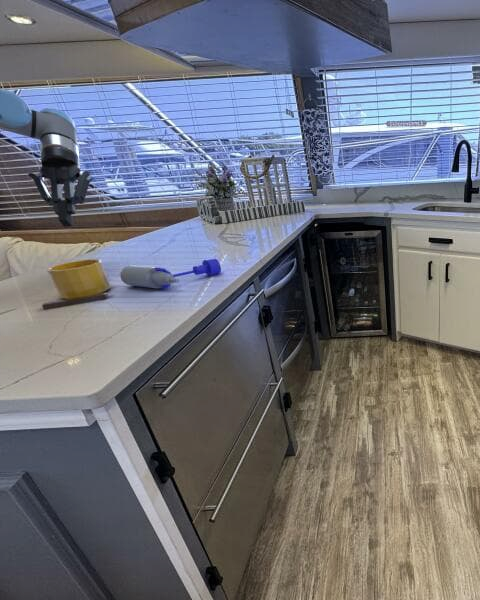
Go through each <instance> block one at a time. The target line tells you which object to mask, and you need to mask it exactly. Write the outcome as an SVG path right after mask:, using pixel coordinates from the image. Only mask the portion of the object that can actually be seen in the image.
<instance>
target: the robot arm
mask: <svg viewBox="0 0 480 600" xmlns="http://www.w3.org/2000/svg"><path fill="white" fill-rule="evenodd" d="M0 130H2V131H5V132H10V133H13V134H18V135H21V136H23V137H29V138H30V139H35V140H39V142H40V143H39V145H40V150H39V151H40V163H41V167H40V168H39V172H37V173H33V172H29V173H28V174H27V176H28V178H30V179H31V180H32V181H33V183H35V186H36V188H37V190H38V192H39V195H40V196H41V198H42V200H43V201H44V202H45V203H46V204H47V205H48V206H49V207H52V209H53V210H52V211H53V212H54V213H55V214H56V216H58V222H59V223H60V224H61V225H62V226H63V227H64V228H69V227H73V219H72V218H73V217H72V215H75V214H76V213H77V212H76V205H77V204H79V205H80V204H81V205H82V204H84V203H85V199H86V196H87V193H88V190H89V186H90V184H91V183H92V181H93V180H94V177H93V176H92V174H91V173H90V172H89V170H84V171H83V170H81V166H80V157H79V155H80V154H79V147H78V131H77V128H76V124H75V121H74V119H73V117H71V116H70V115H69V114H67V113H65V111H62V110H60V109H56V108H48V107H47V108H43V109H40V110H39V111H38V110H34V109H31V108H30V106H29V104H28V103H27V102H26V100H25V99H24V98H22V96H20V95H18V93H17V94H16V93H15V92H13V91H10V90H7V89H3V88H0ZM44 178H45V179H47V180H48V181H49V182H50V192H49V190H48V188H47V186H46V185H45V179H44ZM76 181H77V184H75V182H76ZM63 192H64V193H63ZM50 193H51V194H50ZM63 194H64V196H63Z"/></svg>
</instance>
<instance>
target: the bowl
mask: <svg viewBox="0 0 480 600" xmlns="http://www.w3.org/2000/svg"><path fill="white" fill-rule="evenodd" d="M46 272H47V273H48V276H49V278H50V280H51V282H52V284H53V286H54V288H55V290H56V291H57V294H58V296H59V297H60V298H61V299H71V298H77V297H83V296H89V295H95V294H101V293H106V292H107V291H108V290H110V289H111V288H112V284H111V281H110V278H109V277H108V275H107V272H106V269H105V267H104V265H103V263H102V260H101V259H98V258H97V259H94V258H93V259H91V258H89V259H81V260H76V261H69V262H64V263H60V264H55V265H53V266H50V267H48V268H47V269H46Z"/></svg>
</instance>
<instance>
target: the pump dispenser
mask: <svg viewBox="0 0 480 600" xmlns="http://www.w3.org/2000/svg"><path fill="white" fill-rule="evenodd" d="M201 262H202V263H201V264H199V265H193V266H192V270H187V271H184V272H178V273H174V274H172V272H171V271H169V270H168V269H166V268H164V267H159V266H148V265H147V266H146V265H133V264H131V265H127V266H125V267H123V268H122V269H121V271H120V274H119V275H120V279H121V281H122V282H123V284H126V285H127V286H131V287H132V286H133V287H140V288H141V287H142V288H151V289H161V290H165V289H167V288H169V287H170V286H171V285H172V284H173V285H174V283H176V284H177V283H178V284H179V283H180V281H181V280H180V279H179V278H178V277H182V276H186V275H191V274H194V275H195V276H199V275H203V274H206V275H207V276H209V277H210V276H214V275H218V274H221V272H222V271H221V270H222V266H221V263H220V261H219V260H218V259H217V258H215V257H214V258H213V257H212V258H209V259H204V260H202V261H201Z"/></svg>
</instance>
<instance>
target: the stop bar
mask: <svg viewBox="0 0 480 600" xmlns="http://www.w3.org/2000/svg"><path fill="white" fill-rule="evenodd" d="M108 298H109V294H108V292H103V293H101V294H95V295H89V296H83V297H77V298H71V299H67V298H64V299H60V300H54V301H53V300H52V301H48V302H44V303H42V304H41V306H42V309H43V310H50V309H55V308H60V307H61V308H62V307H66V306H73V305H79V304H83V303H91V302H95V301H101V300H106V299H108Z"/></svg>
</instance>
